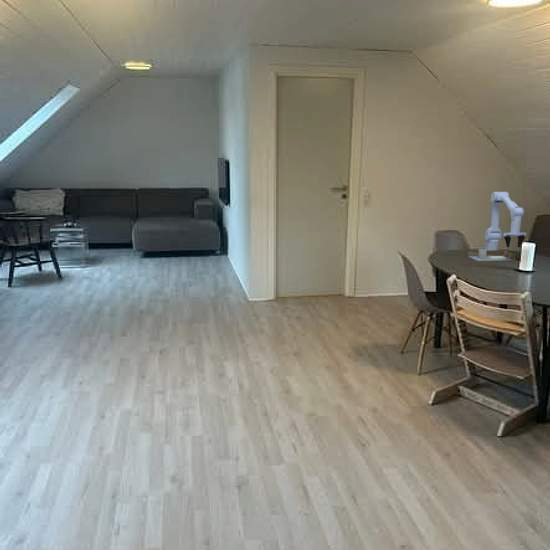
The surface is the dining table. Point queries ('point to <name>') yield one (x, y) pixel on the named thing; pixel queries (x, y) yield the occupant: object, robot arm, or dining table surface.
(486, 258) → the bracket
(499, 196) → the robot arm
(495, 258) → the mat
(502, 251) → the walls
